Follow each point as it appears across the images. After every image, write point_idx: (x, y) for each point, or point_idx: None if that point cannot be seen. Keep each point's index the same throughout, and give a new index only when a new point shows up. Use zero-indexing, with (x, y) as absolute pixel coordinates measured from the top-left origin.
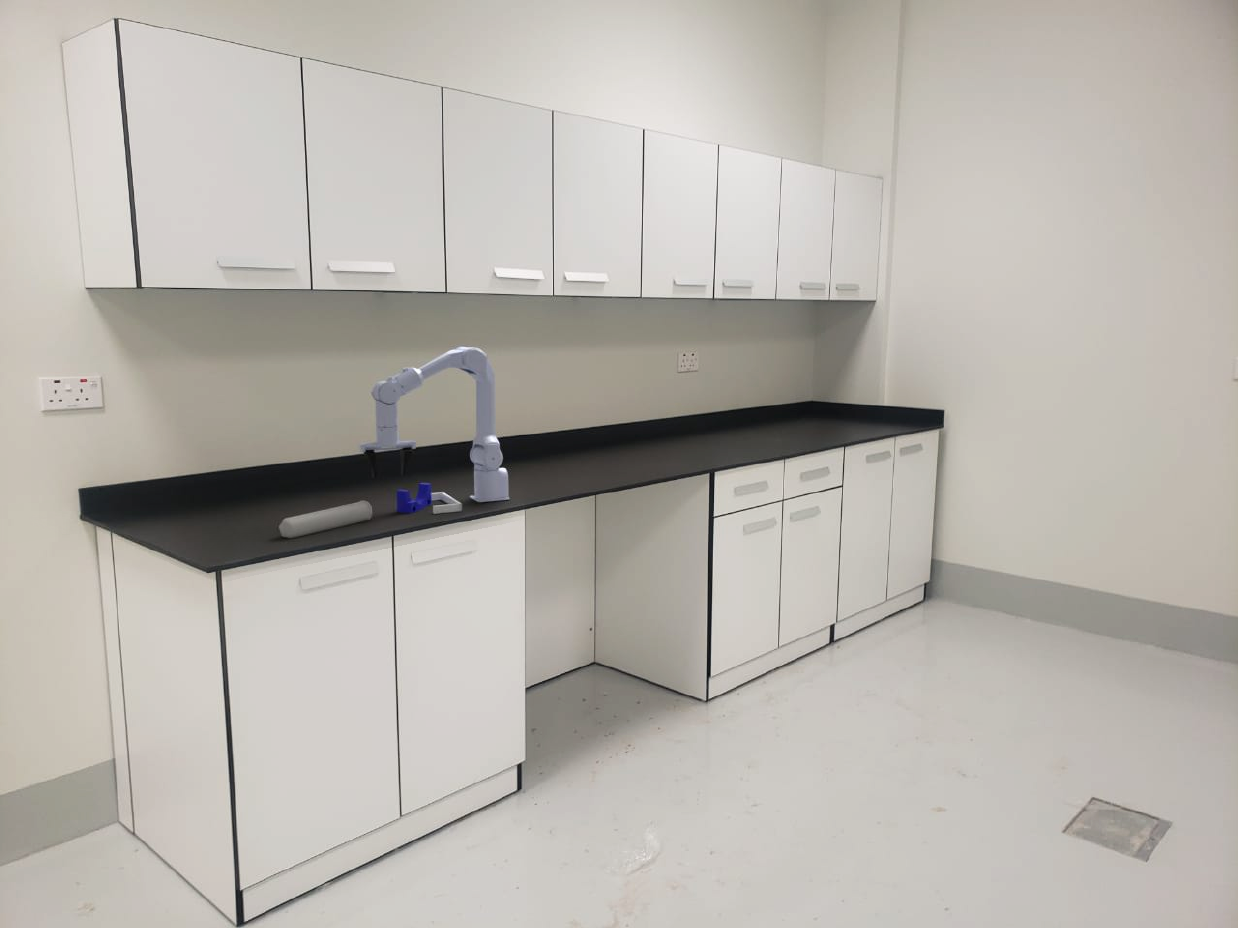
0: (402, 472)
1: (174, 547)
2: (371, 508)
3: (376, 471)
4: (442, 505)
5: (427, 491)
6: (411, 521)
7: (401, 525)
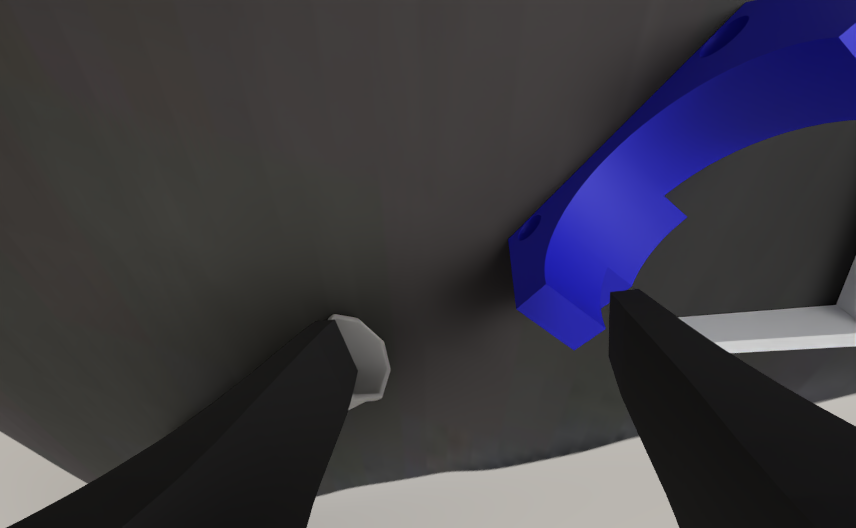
0: (620, 370)
1: (7, 431)
2: (382, 393)
3: (337, 436)
4: (749, 350)
5: (828, 122)
6: (538, 405)
7: (495, 435)
